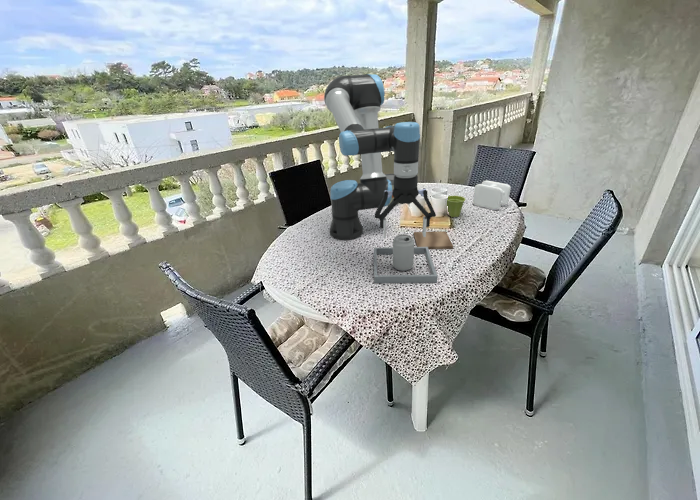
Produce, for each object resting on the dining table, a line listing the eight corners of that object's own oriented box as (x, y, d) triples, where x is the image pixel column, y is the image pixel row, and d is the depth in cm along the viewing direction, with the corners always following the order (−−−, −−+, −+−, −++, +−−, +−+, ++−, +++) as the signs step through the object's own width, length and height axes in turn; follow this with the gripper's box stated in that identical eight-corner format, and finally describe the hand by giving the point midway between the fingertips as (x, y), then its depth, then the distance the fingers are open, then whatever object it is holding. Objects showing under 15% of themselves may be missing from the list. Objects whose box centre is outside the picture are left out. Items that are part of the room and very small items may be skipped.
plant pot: (448, 210, 160) (449, 194, 156) (466, 214, 155) (468, 197, 151) (440, 216, 154) (441, 199, 150) (458, 220, 149) (460, 203, 145)
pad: (417, 249, 126) (417, 246, 125) (413, 234, 138) (413, 232, 137) (452, 248, 125) (453, 246, 124) (445, 233, 137) (445, 231, 136)
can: (412, 272, 111) (414, 242, 105) (391, 271, 112) (392, 241, 107) (413, 262, 117) (414, 233, 112) (393, 260, 119) (393, 232, 113)
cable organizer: (470, 204, 166) (473, 183, 160) (481, 199, 172) (484, 179, 166) (497, 212, 155) (501, 189, 150) (508, 206, 161) (512, 184, 156)
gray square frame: (374, 283, 106) (374, 276, 105) (374, 253, 125) (373, 247, 124) (437, 282, 105) (437, 276, 104) (427, 252, 123) (427, 246, 122)
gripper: (366, 179, 96) (368, 241, 106) (448, 176, 94) (442, 239, 104) (366, 173, 103) (368, 232, 113) (443, 170, 101) (438, 230, 111)
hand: (404, 235), depth 108 cm, fingers open, 13 cm apart
